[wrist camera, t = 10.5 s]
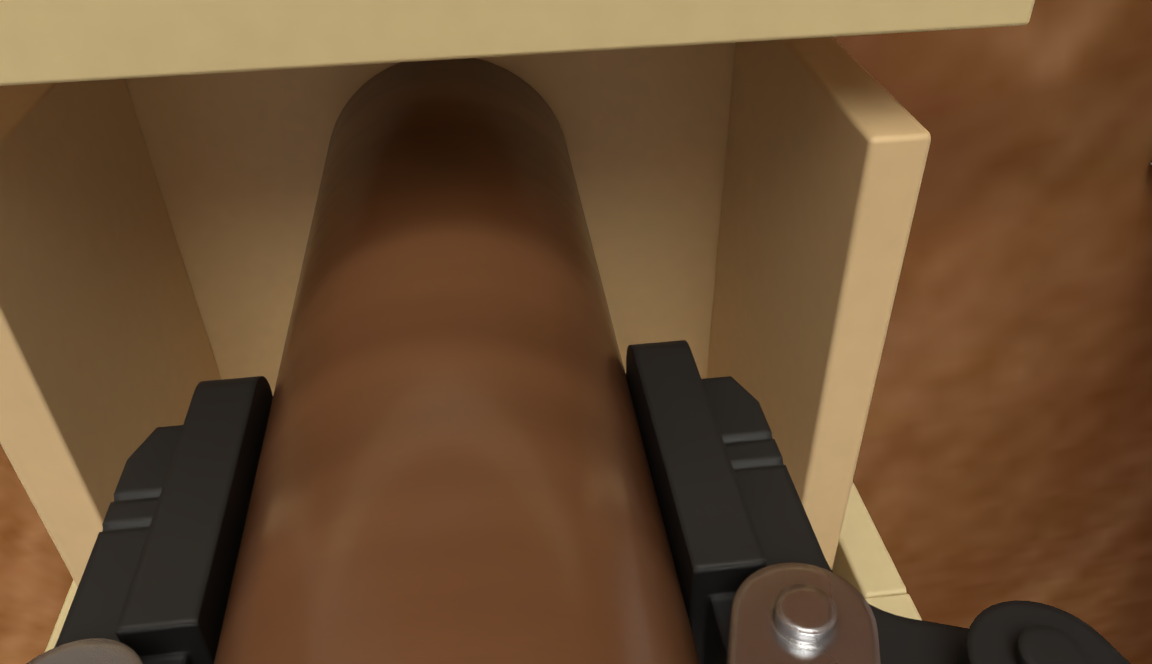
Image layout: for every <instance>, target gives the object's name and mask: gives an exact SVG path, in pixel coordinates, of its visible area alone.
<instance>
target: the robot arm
mask: <svg viewBox="0 0 1152 664" xmlns="http://www.w3.org/2000/svg"><path fill="white" fill-rule="evenodd" d="M626 378H627V382H628V385H629V389H630V393H631V397H632V401H633V405H634V409H635V413H636V416H637V420H638V424H639V428H640V432H641V436H642V440H643V444H644V447H645V451H646V455H647V459H648V463H649V467H650V471H651V475H652V478H653V482H654V486H655V490H656V494H657V498H658V502H659V505H660V509H661V513H662V517H663V521H664V525H665V529H666V533H667V536H668V540H669V544H670V548H671V552H672V556H673V560H674V564H675V567H676V571H677V575H678V579H679V583H680V587H681V591H682V595H683V598H684V602H685V606H686V610H687V614H688V618H689V622H690V626H691V629H692V633H693V637H694V641H695V645H696V649H697V653H698V657H699V660H700V664H1130V663H1129V662H1128V661H1127V660H1126V659H1125V658H1124V657H1123V656H1122V655H1121V654H1120V653H1119V652H1118V651H1117V650H1116V649H1115V648H1114V647H1113V646H1112V645H1111V644H1110V643H1109V642H1108V641H1106V640H1105V639H1104V638H1103V637H1102V636H1101V635H1100V634H1099V633H1098V632H1096V631H1095V630H1094V629H1093V628H1092V627H1090V626H1089V625H1087V624H1086V623H1085V622H1083V621H1082V620H1080V619H1079V618H1077V617H1075V616H1073V615H1071V614H1069V613H1067V612H1065V611H1063V610H1060V609H1058V608H1055V607H1053V606H1049V605H1045V604H1042V603H1037V602H1030V601H1008V602H1002V603H999V604H996V605H992V606H991V607H989V608H987V609H985V610H983V611H982V612H981V613H980V614H979V615H978V616H977V617H976V618H975V620H974V621H973V623H972V624H971V626H970V629H967V628H962V627H956V626H950V625H945V624H939V623H933V622H927V621H922V620H916V619H910V618H906V617H902V616H898V615H894V614H891V613H889V612H886V611H883V610H881V609H879V608H877V607H874V606H872V605H870V604H869V603H868V602H867V601H866V599H865V598H864V597H863V596H862V594H861V593H860V592H859V591H858V590H857V589H856V588H855V587H854V586H853V585H851V584H850V583H849V582H848V581H846V580H845V579H843V578H842V577H840V576H839V575H837V574H835V573H833V571H832V570H831V569H830V567H829V565H828V563H827V561H826V559H825V557H824V554H823V552H822V550H821V547H820V545H819V543H818V540H817V538H816V535H815V533H814V531H813V528H812V526H811V524H810V521H809V519H808V517H807V514H806V512H805V510H804V507H803V505H802V503H801V500H800V498H799V495H798V493H797V491H796V488H795V486H794V484H793V481H792V479H791V477H790V474H789V472H788V470H787V467H786V465H783V458H782V455H781V453H780V451H779V448H778V446H777V444H776V441H775V439H772V432H771V429H770V427H769V425H768V422H767V420H766V418H765V415H764V413H763V411H762V408H761V406H760V404H759V402H758V401H757V400H756V399H755V398H754V397H753V396H752V395H751V394H750V393H749V392H748V391H747V390H745V389H744V388H743V387H742V386H741V385H740V384H739V383H738V382H737V381H736V380H735V379H734V378H732V377H731V376H728V377H717V378H706V379H701V377H700V374H699V371H698V368H697V365H696V363H695V360H694V357H693V354H692V352H691V349H690V346H689V344H688V342H687V341H686V340H680V341H669V342H657V343H645V344H634V345H629V346H628V348H627V355H626ZM272 399H273V394H272V391H271V388H270V385H269V383H268V381H267V379H266V378H265V377H264V376H256V377H245V378H233V379H222V380H211V381H202V382H200V383H198V385H197V386H196V389H195V391H194V394H193V397H192V400H191V403H190V406H189V409H188V412H187V415H186V418H185V421H184V424H183V425H178V426H167V427H157V428H156V429H155V430H154V431H153V432H152V433H151V434H150V436H149V437H148V438H147V439H146V440H145V441H144V442H143V443H142V444H141V445H140V446H139V447H138V449H137V450H136V451H135V452H134V453H133V454H132V455H131V456H130V457H129V458H128V459H127V461H126V464H125V466H124V469H123V472H122V474H121V477H120V479H119V482H118V485H117V487H116V490H115V492H114V495H113V496H114V502H111V503H110V505H109V508H108V511H107V513H106V516H105V518H104V521H103V524H102V526H103V531H102V532H99V534H98V536H97V539H96V542H95V544H94V547H93V549H92V552H91V555H90V557H89V560H88V562H87V565H86V568H85V570H84V573H83V575H82V578H81V581H80V583H79V586H78V588H77V591H76V594H75V596H74V599H73V601H72V604H71V606H70V609H69V612H68V614H67V617H66V619H65V622H64V625H63V627H62V630H61V632H60V635H59V638H58V640H57V642H56V645H55V647H54V648H53V649H50V650H49V651H47V652H45V653H43V654H41V655H39V656H37V657H36V658H34V659H33V660H31V661H30V662H28V663H27V664H214V660H215V656H216V651H217V647H218V642H219V638H220V633H221V629H222V624H223V620H224V615H225V611H226V606H227V602H228V597H229V593H230V588H231V584H232V579H233V575H234V570H235V566H236V561H237V557H238V552H239V548H240V543H241V539H242V534H243V530H244V525H245V521H246V516H247V512H248V507H249V503H250V498H251V494H252V489H253V485H254V480H255V476H256V471H257V467H258V462H259V458H260V453H261V449H262V444H263V440H264V435H265V431H266V426H267V422H268V417H269V413H270V408H271V404H272Z"/></svg>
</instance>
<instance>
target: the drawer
mask: <svg viewBox="0 0 1152 664" xmlns="http://www.w3.org/2000/svg"><path fill="white" fill-rule="evenodd" d="M1034 2H1035V0H0V444H1V446H2V447H3V449H4V451H5V453H6V455H7V457H8V459H9V460H10V462H11V464H12V466H13V468H14V470H15V472H16V473H17V475H18V477H19V479H20V481H21V483H22V485H23V486H24V488H25V490H26V492H27V494H28V496H29V498H30V499H31V501H32V503H33V505H34V507H35V509H36V511H37V512H38V514H39V516H40V518H41V520H42V522H43V524H44V525H45V527H46V529H47V531H48V533H49V535H50V537H51V539H52V540H53V542H54V544H55V546H56V548H57V550H58V552H59V553H60V555H61V557H62V559H63V561H64V563H65V565H66V566H67V568H68V570H69V572H70V574H71V576H72V578H73V579H74V581H75V583H76V585H77V587H78V586H79V583H80V581H81V578H82V575H83V573H84V570H85V568H86V565H87V562H88V560H89V557H90V555H91V552H92V549H93V547H94V544H95V542H96V539H97V536H98V534H99V532H102V531H103V526H102V524H103V521H104V518H105V516H106V513H107V511H108V508H109V505H110V503H111V502H114V496H113V495H114V492H115V490H116V487H117V485H118V482H119V479H120V477H121V474H122V472H123V469H124V466H125V464H126V461H127V459H128V458H129V457H130V456H131V455H132V454H133V453H134V452H135V451H136V450H137V449H138V447H139V446H140V445H141V444H142V443H143V442H144V441H145V440H146V439H147V438H148V437H149V436H150V434H151V433H152V432H153V431H154V430H155V429H156V428H157V427H167V426H178V425H183V424H184V421H185V418H186V415H187V412H188V409H189V406H190V403H191V400H192V397H193V394H194V391H195V389H196V386H197V385H198V383H200V382H202V381H211V380H222V379H233V378H245V377H256V376H264V377H265V378H266V379H267V381H268V383H269V385H270V388H271V391H272V394H273V395H274V390H275V386H276V381H277V377H278V372H279V368H280V363H281V359H282V354H283V350H284V345H285V341H286V336H287V332H288V327H289V323H290V318H291V314H292V309H293V305H294V300H295V296H296V291H297V287H298V282H299V278H300V273H301V269H302V264H303V260H304V255H305V251H306V246H307V242H308V237H309V233H310V228H311V224H312V219H313V215H314V210H315V206H316V201H317V197H318V192H319V188H320V183H321V179H322V174H323V169H324V165H325V160H326V156H327V151H328V147H329V142H330V138H331V135H332V132H333V129H334V126H335V123H336V121H337V119H338V117H339V115H340V113H341V111H342V109H343V108H344V106H345V105H346V104H347V102H348V101H349V99H350V98H351V97H352V96H353V95H354V93H355V92H356V91H357V90H358V89H359V88H360V87H361V86H362V85H363V84H365V83H366V82H367V81H369V80H370V79H371V78H372V77H374V76H375V75H377V74H379V73H380V72H382V71H384V70H386V69H387V68H389V67H391V66H394V65H396V64H399V63H401V62H416V61H433V60H450V59H467V58H477V59H480V60H484V61H488V62H490V63H493V64H495V65H498V66H500V67H503V68H505V69H506V70H508V71H510V72H512V73H513V74H515V75H517V76H518V77H520V78H521V79H522V80H524V81H525V82H526V83H528V84H529V85H530V86H531V87H532V88H533V89H534V90H535V91H537V92H538V93H539V94H540V95H541V96H542V98H543V99H544V100H545V102H546V103H547V104H548V105H549V107H550V108H551V110H552V111H553V113H554V115H555V117H556V118H557V120H558V122H559V124H560V127H561V129H562V132H563V134H564V137H565V141H566V145H567V149H568V153H569V157H570V161H571V165H572V168H573V172H574V176H575V180H576V184H577V188H578V192H579V196H580V199H581V203H582V207H583V211H584V215H585V219H586V223H587V227H588V230H589V234H590V238H591V242H592V246H593V250H594V254H595V258H596V261H597V265H598V269H599V273H600V277H601V281H602V285H603V289H604V292H605V296H606V300H607V304H608V308H609V312H610V316H611V320H612V323H613V327H614V331H615V335H616V339H617V343H618V347H619V351H620V354H621V358H622V362H623V366H624V370H625V374H626V355H627V348H628V346H629V345H634V344H645V343H657V342H669V341H680V340H686V341H687V342H688V344H689V346H690V349H691V352H692V354H693V357H694V360H695V363H696V365H697V368H698V371H699V374H700V377H701V379H706V378H717V377H728V376H731V377H732V378H734V379H735V380H736V381H737V382H738V383H739V384H740V385H741V386H742V387H743V388H744V389H745V390H747V391H748V392H749V393H750V394H751V395H752V396H753V397H754V398H755V399H756V400H757V401H758V402H759V404H760V406H761V408H762V411H763V413H764V415H765V418H766V420H767V422H768V425H769V427H770V429H771V432H772V439H775V441H776V444H777V446H778V448H779V451H780V453H781V455H782V458H783V465H786V467H787V470H788V472H789V474H790V477H791V479H792V481H793V484H794V486H795V488H796V491H797V493H798V495H799V498H800V500H801V503H802V505H803V507H804V510H805V512H806V514H807V517H808V519H809V521H810V524H811V526H812V528H813V531H814V533H815V535H816V538H817V540H818V543H819V545H820V547H821V550H822V552H823V554H824V557H825V559H826V561H827V563H828V565H829V567H830V569H831V570H832V568H833V563H834V559H835V555H836V550H837V546H838V542H839V537H840V533H841V529H842V524H843V520H844V516H845V511H846V507H847V503H848V498H849V494H850V489H851V485H852V481H853V476H854V472H855V468H856V463H857V459H858V455H859V450H860V446H861V442H862V437H863V433H864V429H865V424H866V420H867V416H868V411H869V407H870V403H871V398H872V394H873V390H874V385H875V381H876V377H877V372H878V368H879V364H880V359H881V355H882V350H883V346H884V342H885V337H886V333H887V329H888V324H889V320H890V316H891V311H892V307H893V303H894V298H895V294H896V290H897V285H898V281H899V277H900V272H901V268H902V264H903V259H904V255H905V251H906V246H907V242H908V238H909V233H910V229H911V224H912V220H913V216H914V211H915V207H916V203H917V198H918V194H919V190H920V185H921V181H922V177H923V172H924V168H925V164H926V159H927V155H928V151H929V146H930V142H931V136H930V133H929V132H928V131H927V130H926V129H925V128H924V127H923V126H922V125H921V124H920V123H919V122H918V121H917V120H916V119H915V118H914V117H913V116H912V115H911V114H910V113H909V112H908V111H907V110H906V109H905V108H904V107H903V106H902V105H901V104H900V103H899V102H898V101H897V100H896V99H895V98H894V97H893V96H892V95H891V94H890V93H889V92H888V91H887V90H886V89H885V88H884V87H883V86H881V85H880V84H879V83H878V82H877V81H876V80H875V79H874V78H873V77H872V76H871V75H870V74H869V73H868V72H867V71H866V70H865V69H864V68H863V67H862V66H861V65H860V64H859V63H858V62H857V61H856V60H855V59H854V58H853V57H852V56H851V55H850V54H849V53H848V52H847V51H846V50H845V49H844V48H843V47H842V46H841V45H840V44H839V43H838V42H837V41H836V40H835V39H834V38H833V37H837V36H854V35H871V34H888V33H904V32H921V31H938V30H955V29H972V28H989V27H1005V26H1022V25H1026V24H1028V22H1029V20H1030V17H1031V13H1032V10H1033V6H1034Z"/></svg>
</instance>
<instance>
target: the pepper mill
mask: <svg viewBox="0 0 1152 664" xmlns="http://www.w3.org/2000/svg"><path fill="white" fill-rule="evenodd" d="M214 664H700V660H699V657H698V653H697V649H696V645H695V641H694V637H693V633H692V629H691V626H690V622H689V618H688V614H687V610H686V606H685V602H684V598H683V595H682V591H681V587H680V583H679V579H678V575H677V571H676V567H675V564H674V560H673V556H672V552H671V548H670V544H669V540H668V536H667V533H666V529H665V525H664V521H663V517H662V513H661V509H660V505H659V502H658V498H657V494H656V490H655V486H654V482H653V478H652V475H651V471H650V467H649V463H648V459H647V455H646V451H645V447H644V444H643V440H642V436H641V432H640V428H639V424H638V420H637V416H636V413H635V409H634V405H633V401H632V397H631V393H630V389H629V385H628V382H627V378H626V374H625V370H624V366H623V362H622V358H621V354H620V351H619V347H618V343H617V339H616V335H615V331H614V327H613V323H612V320H611V316H610V312H609V308H608V304H607V300H606V296H605V292H604V289H603V285H602V281H601V277H600V273H599V269H598V265H597V261H596V258H595V254H594V250H593V246H592V242H591V238H590V234H589V230H588V227H587V223H586V219H585V215H584V211H583V207H582V203H581V199H580V196H579V192H578V188H577V184H576V180H575V176H574V172H573V168H572V165H571V161H570V157H569V153H568V149H567V145H566V141H565V137H564V134H563V132H562V129H561V127H560V124H559V122H558V120H557V118H556V117H555V115H554V113H553V111H552V110H551V108H550V107H549V105H548V104H547V103H546V102H545V100H544V99H543V98H542V96H541V95H540V94H539V93H538V92H537V91H535V90H534V89H533V88H532V87H531V86H530V85H529V84H528V83H526V82H525V81H524V80H522V79H521V78H520V77H518V76H517V75H515V74H513V73H512V72H510V71H508V70H506V69H505V68H503V67H500V66H498V65H495V64H493V63H490V62H488V61H484V60H480V59H477V58H467V59H450V60H433V61H416V62H401V63H399V64H396V65H394V66H391V67H389V68H387V69H386V70H384V71H382V72H380V73H379V74H377V75H375V76H374V77H372V78H371V79H370V80H369V81H367V82H366V83H365V84H363V85H362V86H361V87H360V88H359V89H358V90H357V91H356V92H355V93H354V95H353V96H352V97H351V98H350V99H349V101H348V102H347V104H346V105H345V106H344V108H343V109H342V111H341V113H340V115H339V117H338V119H337V121H336V123H335V126H334V129H333V132H332V135H331V138H330V142H329V147H328V151H327V156H326V160H325V165H324V169H323V174H322V179H321V183H320V188H319V192H318V197H317V201H316V206H315V210H314V215H313V219H312V224H311V228H310V233H309V237H308V242H307V246H306V251H305V255H304V260H303V264H302V269H301V273H300V278H299V282H298V287H297V291H296V296H295V300H294V305H293V309H292V314H291V318H290V323H289V327H288V332H287V336H286V341H285V345H284V350H283V354H282V359H281V363H280V368H279V372H278V377H277V381H276V386H275V390H274V395H273V399H272V404H271V408H270V413H269V417H268V422H267V426H266V431H265V435H264V440H263V444H262V449H261V453H260V458H259V462H258V467H257V471H256V476H255V480H254V485H253V489H252V494H251V498H250V503H249V507H248V512H247V516H246V521H245V525H244V530H243V534H242V539H241V543H240V548H239V552H238V557H237V561H236V566H235V570H234V575H233V579H232V584H231V588H230V593H229V597H228V602H227V606H226V611H225V615H224V620H223V624H222V629H221V633H220V638H219V642H218V647H217V651H216V656H215V660H214Z"/></svg>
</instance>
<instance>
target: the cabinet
mask: <svg viewBox="0 0 1152 664" xmlns="http://www.w3.org/2000/svg"><path fill="white" fill-rule="evenodd" d="M832 571H833V573H835V574H837V575H839V576H840V577H842V578H843V579H845V580H846V581H848V582H849V583H850V584H851V585H853V586H854V587H855V588H856V589H857V590H858V591H859V592H860V593H861V594H862V596H863V597H864V598H865V599H866V601H867V602H868V603H869V604H870V605H872V606H874V607H877V608H879V609H881V610H883V611H886V612H889V613H891V614H894V615H898V616H902V617H906V618H910V619H916V620H922V619H921V617H920V615H919V613H918V611H917V609H916V607H915V605H914V603H913V601H912V599H911V597H910V595H909V594H906V587H905V585H904V583H903V581H902V579H901V577H900V575H899V573H898V571H897V569H896V567H895V565H894V563H893V561H892V559H891V557H890V555H889V553H888V551H887V549H886V547H885V545H884V543H883V541H882V539H881V537H880V535H879V533H878V531H877V529H876V527H875V525H874V523H873V521H872V519H871V517H870V515H869V513H868V511H867V509H866V507H865V505H864V503H863V501H862V499H861V497H860V495H859V493H858V491H857V489H856V487H855V485H854V483H853V481H852V485H851V489H850V494H849V498H848V503H847V507H846V511H845V516H844V520H843V524H842V529H841V533H840V537H839V542H838V546H837V550H836V555H835V559H834V563H833V568H832ZM77 588H78V587H77V585H76V583H75V581H74V579H73V582H72V585H71V587H70V590H69V592H68V595H67V597H66V600H65V602H64V605H63V607H62V610H61V612H60V615H59V617H58V620H57V622H56V625H55V628H54V630H53V633H52V635H51V638H50V640H49V643H48V645H47V648H46V650H45V652H47V651H49V650H50V649H53V648H54V647H55V645H56V642H57V640H58V638H59V635H60V632H61V630H62V627H63V625H64V622H65V619H66V617H67V614H68V612H69V609H70V606H71V604H72V601H73V599H74V596H75V594H76V591H77Z"/></svg>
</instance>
